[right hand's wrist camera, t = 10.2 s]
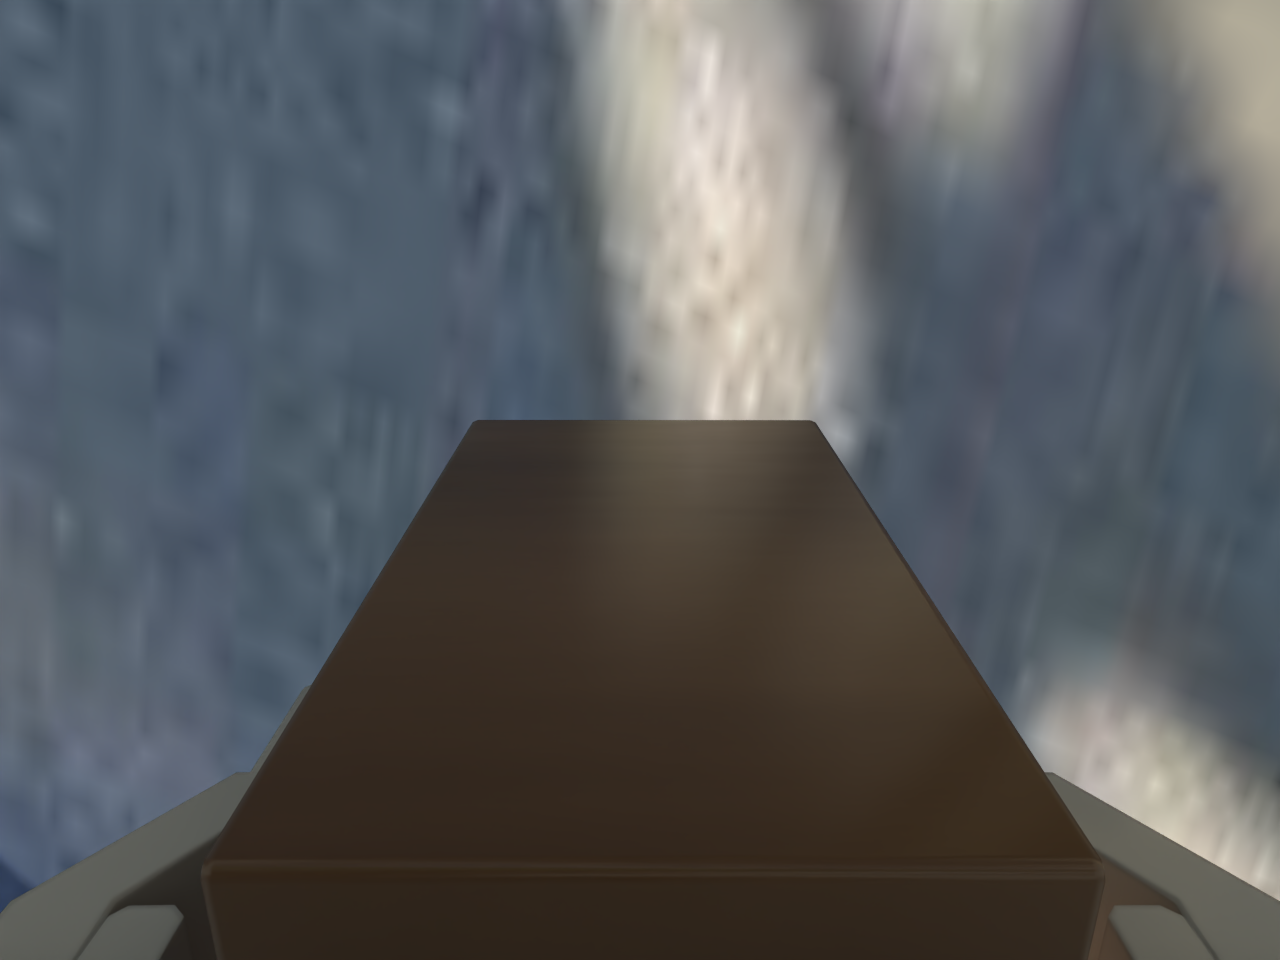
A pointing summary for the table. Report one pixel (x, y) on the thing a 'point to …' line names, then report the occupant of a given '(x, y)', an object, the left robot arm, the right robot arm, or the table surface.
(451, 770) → the bar
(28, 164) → the table surface
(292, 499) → the table surface
